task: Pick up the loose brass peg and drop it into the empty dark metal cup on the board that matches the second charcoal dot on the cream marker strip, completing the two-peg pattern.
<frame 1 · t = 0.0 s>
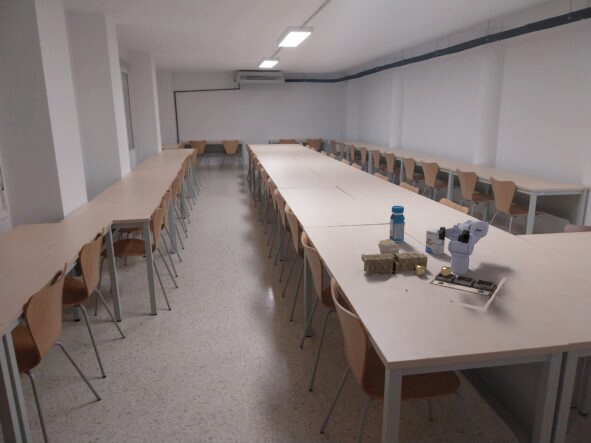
hand: (449, 237, 174), 22 cm above the table, tool horizontal, fingers open, 7 cm apart
brass peg: (419, 277, 190), on the table
ink box: (434, 252, 223), on the table
layout board: (462, 286, 179), on the table
placed peg: (445, 278, 184), point 1 cm above the table, touching layout board
block tower: (393, 271, 199), on the table
fossil replica: (389, 255, 221), on the table
beverage bottle: (396, 240, 245), on the table
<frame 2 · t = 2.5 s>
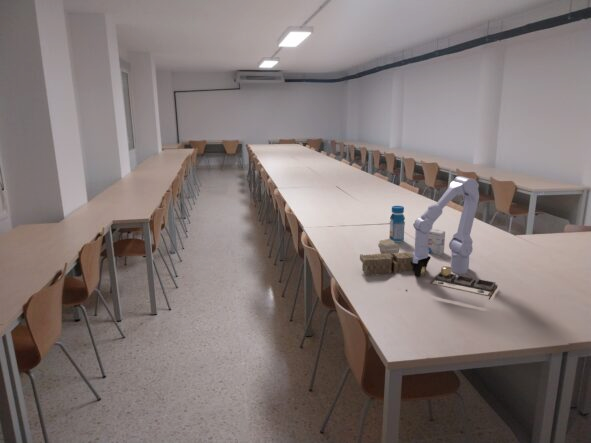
hand: (419, 273, 190), 1 cm above the table, tool pointing down, fingers open, 6 cm apart
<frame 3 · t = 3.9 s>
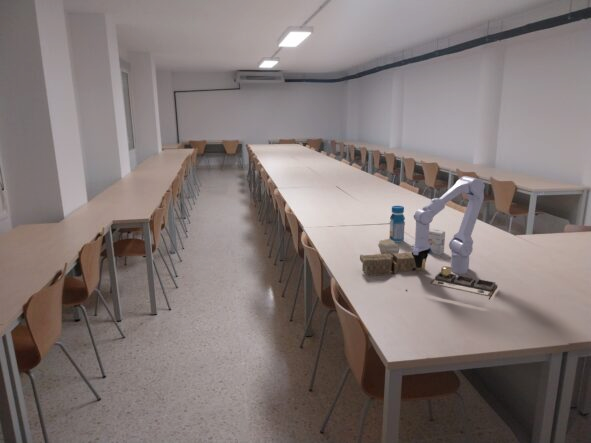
hand: (420, 265, 189), 5 cm above the table, tool pointing down, fingers closed on brass peg, 4 cm apart
brass peg: (420, 269, 189), point 4 cm above the table, touching gripper
everything else where it was.
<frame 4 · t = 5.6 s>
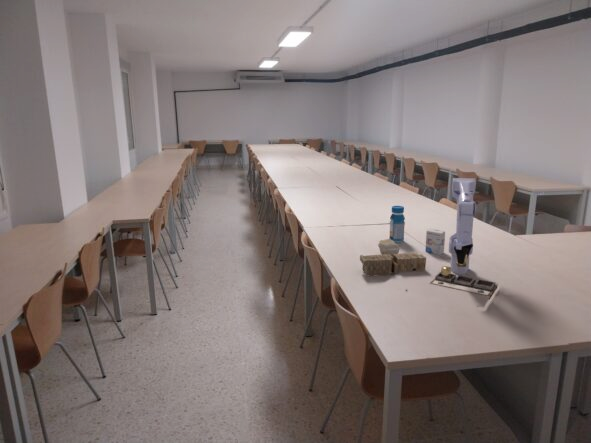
hand: (462, 262, 178), 10 cm above the table, tool pointing down, fingers closed on brass peg, 4 cm apart
brass peg: (461, 265, 178), point 9 cm above the table, touching gripper
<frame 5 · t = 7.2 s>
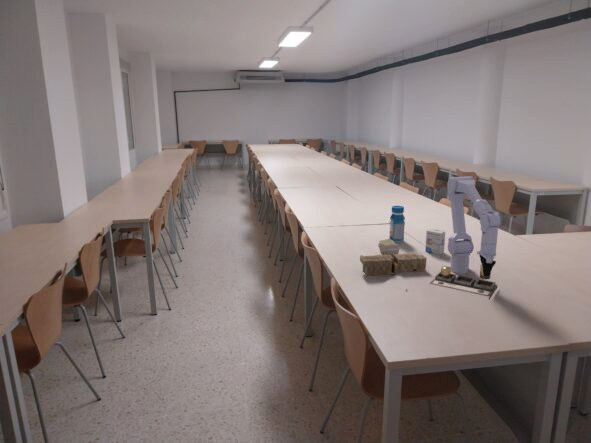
hand: (485, 274, 174), 7 cm above the table, tool pointing down, fingers closed on brass peg, 4 cm apart
brass peg: (485, 277, 174), point 5 cm above the table, touching gripper
when the fingers open (4 cm above the table, at t = 8.3 s): brass peg stays where it is, resting on layout board.
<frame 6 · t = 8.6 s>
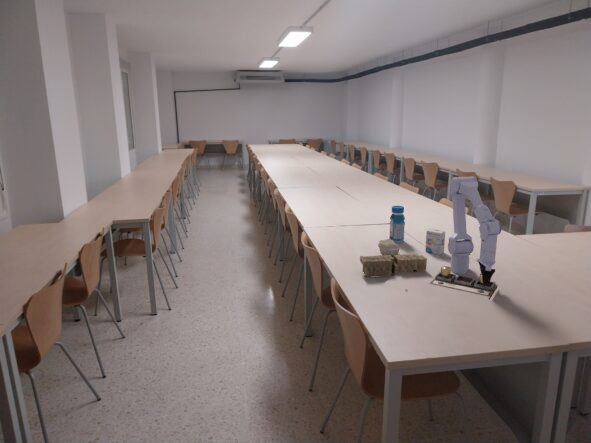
hand: (485, 281, 175), 4 cm above the table, tool pointing down, fingers open, 6 cm apart
brass peg: (484, 286, 175), point 1 cm above the table, touching layout board
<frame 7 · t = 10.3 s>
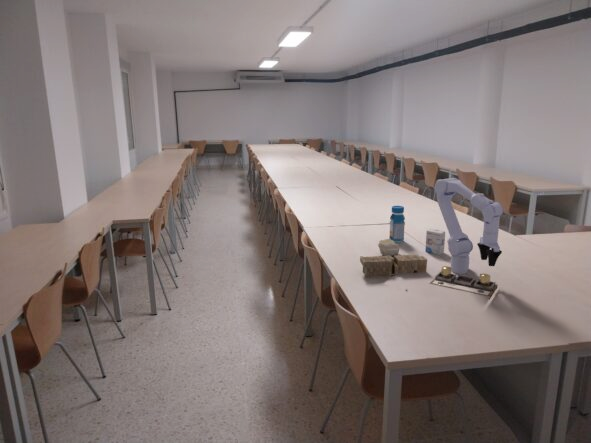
hand: (487, 262, 179), 9 cm above the table, tool pointing down, fingers open, 7 cm apart
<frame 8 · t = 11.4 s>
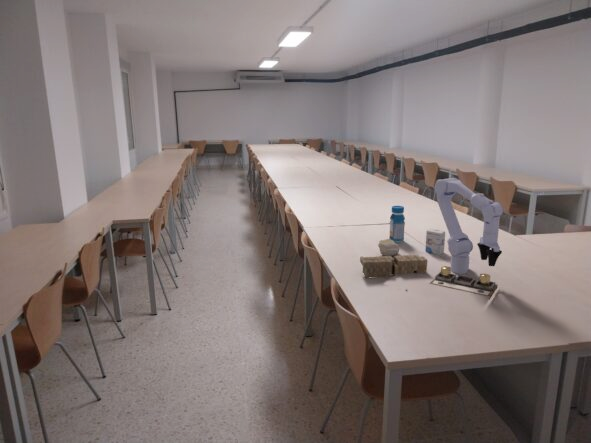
hand: (487, 262, 179), 9 cm above the table, tool pointing down, fingers open, 7 cm apart
at the end: brass peg 0.2 cm from the target spot on the layout board, point 1.2 cm above the layout board's base; brass peg tilted 0°; the gripper is holding nothing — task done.
